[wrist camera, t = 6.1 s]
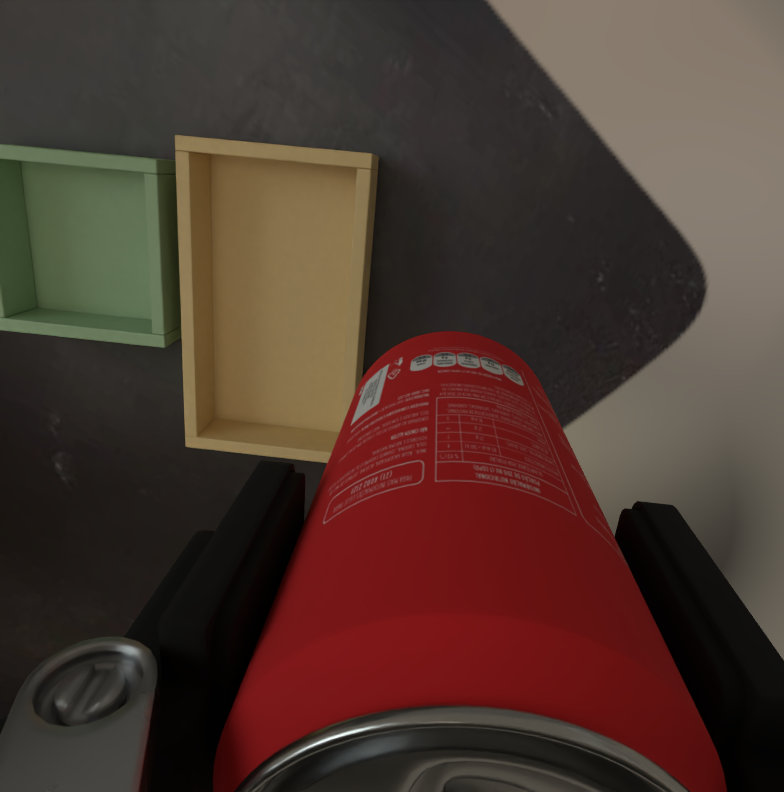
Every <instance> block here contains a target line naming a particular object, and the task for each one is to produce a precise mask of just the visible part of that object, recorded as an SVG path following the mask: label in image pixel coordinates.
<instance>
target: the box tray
mask: <svg viewBox="0 0 784 792" xmlns="http://www.w3.org/2000/svg"><path fill="white" fill-rule="evenodd" d="M175 150H177V151H175V158H176V187H177V216H178V244H179V273H180V302H181V330H182V359H183V387H184V416H185V442H186V447H192V448H201V449H210V450H218V451H227V452H236V453H245V454H253V455H262V456H271V457H280V458H289V459H297V460H306V461H315V462H324V463H328V461H329V458H330V456H331V453H332V450H333V448H334V445H335V443H336V440H337V438H338V435H339V433H340V430H341V428H342V425H343V422H344V420H345V417H346V415H347V412H348V410H349V407H350V405H351V402H352V399H353V397H354V395H355V392H356V390H357V387H358V385H359V383H360V382H361V380H362V373H363V360H364V347H365V334H366V321H367V308H368V295H369V282H370V269H371V256H372V242H373V229H374V216H375V203H376V190H377V177H378V164H379V156H376V155H374V154H371V153H361V152H351V151H340V150H330V149H319V148H309V147H298V146H288V145H277V144H267V143H256V142H245V141H235V140H224V139H214V138H203V137H193V136H182V135H175Z"/></svg>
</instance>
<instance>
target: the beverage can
mask: <svg viewBox="0 0 784 792" xmlns="http://www.w3.org/2000/svg"><path fill="white" fill-rule="evenodd" d="M213 792H727V787H726V782H725V777H724V772H723V768H722V765H721V762H720V759H719V756H718V753H717V751H716V748H715V746H714V744H713V742H712V740H711V737H710V735H709V733H708V731H707V729H706V727H705V725H704V722H703V720H702V718H701V716H700V714H699V712H698V710H697V708H696V706H695V704H694V702H693V700H692V697H691V695H690V693H689V691H688V689H687V687H686V685H685V683H684V681H683V679H682V677H681V675H680V673H679V670H678V668H677V666H676V664H675V662H674V660H673V658H672V656H671V654H670V652H669V650H668V648H667V645H666V643H665V641H664V639H663V637H662V635H661V633H660V631H659V629H658V627H657V625H656V623H655V621H654V618H653V616H652V614H651V612H650V610H649V608H648V606H647V604H646V602H645V600H644V598H643V596H642V594H641V591H640V589H639V587H638V585H637V583H636V581H635V579H634V577H633V575H632V573H631V571H630V569H629V566H628V564H627V562H626V560H625V558H624V556H623V554H622V552H621V550H620V548H619V546H618V544H617V542H616V539H615V537H614V535H613V533H612V531H611V529H610V527H609V525H608V523H607V521H606V519H605V517H604V515H603V512H602V510H601V508H600V506H599V504H598V502H597V500H596V498H595V496H594V494H593V492H592V490H591V488H590V485H589V483H588V481H587V479H586V477H585V475H584V473H583V471H582V469H581V467H580V465H579V463H578V460H577V459H576V456H575V454H574V452H573V450H572V448H571V446H570V444H569V442H568V440H567V438H566V435H565V433H564V431H563V429H562V427H561V425H560V423H559V421H558V419H557V417H556V415H555V413H554V411H553V408H552V406H551V404H550V402H549V400H548V398H547V396H546V394H545V392H544V390H543V388H542V386H541V384H540V382H539V380H538V379H537V377H536V375H535V374H534V373H533V371H532V370H531V369H530V367H529V366H528V365H527V364H526V363H525V362H524V361H523V360H522V359H521V358H520V357H519V356H518V355H516V354H515V353H514V352H512V351H511V350H510V349H508V348H507V347H505V346H503V345H502V344H500V343H498V342H496V341H493V340H491V339H489V338H486V337H483V336H480V335H476V334H471V333H466V332H456V331H445V332H434V333H429V334H424V335H420V336H417V337H414V338H411V339H409V340H406V341H404V342H402V343H400V344H398V345H397V346H395V347H393V348H392V349H390V350H389V351H387V352H386V353H385V354H383V355H382V356H381V357H380V358H379V359H378V360H377V361H376V362H375V363H374V364H373V365H372V366H371V367H370V368H369V370H368V371H367V372H366V374H365V375H364V377H363V378H362V380H361V382H360V383H359V385H358V387H357V390H356V392H355V395H354V397H353V399H352V402H351V405H350V407H349V410H348V412H347V415H346V417H345V420H344V422H343V425H342V428H341V430H340V433H339V435H338V438H337V440H336V443H335V445H334V448H333V450H332V453H331V456H330V458H329V461H328V463H327V466H326V468H325V471H324V473H323V476H322V479H321V481H320V484H319V486H318V489H317V491H316V494H315V496H314V499H313V501H312V504H311V507H310V509H309V512H308V514H307V517H306V519H305V522H304V524H303V527H302V530H301V532H300V535H299V537H298V540H297V542H296V545H295V547H294V550H293V552H292V555H291V558H290V560H289V563H288V565H287V568H286V570H285V573H284V575H283V578H282V581H281V583H280V586H279V588H278V591H277V593H276V596H275V598H274V601H273V603H272V606H271V609H270V611H269V614H268V616H267V619H266V621H265V624H264V626H263V629H262V632H261V634H260V637H259V639H258V642H257V644H256V647H255V649H254V652H253V654H252V657H251V660H250V662H249V665H248V667H247V670H246V672H245V675H244V677H243V680H242V683H241V685H240V688H239V690H238V693H237V695H236V698H235V700H234V703H233V705H232V708H231V711H230V713H229V716H228V718H227V721H226V723H225V726H224V729H223V731H222V734H221V737H220V741H219V744H218V747H217V751H216V757H215V762H214V771H213Z"/></svg>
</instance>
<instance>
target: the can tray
mask: <svg viewBox="0 0 784 792" xmlns="http://www.w3.org/2000/svg"><path fill="white" fill-rule="evenodd" d="M0 330H5V331H14V332H23V333H32V334H42V335H51V336H60V337H69V338H79V339H88V340H97V341H106V342H116V343H125V344H134V345H143V346H153V347H162V348H165V347H167V346H168V345H170V344H171V343H173V342H175V341H176V340H178V339H180V338H181V337H182V330H181V302H180V273H179V244H178V216H177V187H176V160H169V159H159V158H148V157H138V156H128V155H117V154H107V153H96V152H86V151H76V150H65V149H55V148H45V147H34V146H24V145H13V144H1V143H0Z"/></svg>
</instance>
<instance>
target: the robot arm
mask: <svg viewBox="0 0 784 792" xmlns="http://www.w3.org/2000/svg"><path fill="white" fill-rule="evenodd" d="M304 503H305V475H304V473H295V468H294V465H293V464H289V463H280V462H270V461H260V462H259V463H258V465H257V467H256V468H255V470H254V471H253V473H252V474H251V476H250V478H249V479H248V481H247V482H246V484H245V486H244V487H243V489H242V490H241V492H240V493H239V495H238V497H237V498H236V500H235V501H234V503H233V504H232V506H231V508H230V509H229V511H228V512H227V514H226V515H225V517H224V519H223V520H222V522H221V523H220V525H219V527H218V528H217V530H216V531H208V530H200V531H198V532H197V533H196V534H195V535H194V536H193V537H192V539H191V540H190V542H189V543H188V545H187V546H186V548H185V549H184V550H183V552H182V553H181V555H180V556H179V558H178V559H177V561H176V562H175V564H174V565H173V566H172V568H171V569H170V571H169V572H168V574H167V575H166V577H165V578H164V580H163V581H162V582H161V584H160V585H159V587H158V588H157V590H156V591H155V593H154V594H153V596H152V597H151V598H150V600H149V601H148V603H147V604H146V606H145V607H144V609H143V610H142V612H141V613H140V614H139V616H138V617H137V619H136V620H135V622H134V623H133V625H132V626H131V628H130V629H129V630H128V632H127V633H126V635H125V636H124V637H100V638H95V639H90V640H85V641H81V642H79V643H76V644H74V645H71V646H69V647H66V648H64V649H62V650H60V651H58V652H57V653H55V654H54V655H52V656H50V657H49V658H47V659H46V660H44V661H43V662H42V663H41V664H40V665H39V666H38V667H37V668H36V669H34V670H33V671H32V672H31V673H30V674H29V675H28V677H27V679H26V680H25V682H24V683H23V685H22V687H21V688H20V690H19V691H18V694H17V696H16V699H15V701H14V703H13V706H12V708H11V710H10V713H9V715H8V717H6V718H3V719H1V720H0V792H213V771H214V762H215V757H216V751H217V747H218V744H219V741H220V737H221V734H222V731H223V729H224V726H225V723H226V721H227V718H228V716H229V713H230V711H231V708H232V705H233V703H234V700H235V698H236V695H237V693H238V690H239V688H240V685H241V683H242V680H243V677H244V675H245V672H246V670H247V667H248V665H249V662H250V660H251V657H252V654H253V652H254V649H255V647H256V644H257V642H258V639H259V637H260V634H261V632H262V629H263V626H264V624H265V621H266V619H267V616H268V614H269V611H270V609H271V606H272V603H273V601H274V598H275V596H276V593H277V591H278V588H279V586H280V583H281V581H282V578H283V575H284V573H285V570H286V568H287V565H288V563H289V560H290V558H291V555H292V552H293V550H294V547H295V545H296V542H297V540H298V537H299V535H300V532H301V530H302V527H303V524H304ZM615 539H616V542H617V544H618V546H619V548H620V550H621V552H622V554H623V556H624V558H625V560H626V562H627V564H628V566H629V569H630V571H631V573H632V575H633V577H634V579H635V581H636V583H637V585H638V587H639V589H640V591H641V594H642V596H643V598H644V600H645V602H646V604H647V606H648V608H649V610H650V612H651V614H652V616H653V618H654V621H655V623H656V625H657V627H658V629H659V631H660V633H661V635H662V637H663V639H664V641H665V643H666V645H667V648H668V650H669V652H670V654H671V656H672V658H673V660H674V662H675V664H676V666H677V668H678V670H679V673H680V675H681V677H682V679H683V681H684V683H685V685H686V687H687V689H688V691H689V693H690V695H691V697H692V700H693V702H694V704H695V706H696V708H697V710H698V712H699V714H700V716H701V718H702V720H703V722H704V725H705V727H706V729H707V731H708V733H709V735H710V737H711V740H712V742H713V744H714V746H715V748H716V751H717V753H718V756H719V759H720V762H721V765H722V768H723V772H724V777H725V782H726V787H727V792H784V660H783V659H782V658H781V656H780V655H779V653H778V652H777V651H776V649H775V648H774V646H773V645H772V643H771V642H770V641H769V639H768V638H767V636H766V635H765V634H764V632H763V631H762V629H761V628H760V626H759V625H758V623H757V622H756V621H755V619H754V618H753V616H752V615H751V614H750V612H749V611H748V609H747V608H746V607H745V605H744V604H743V602H742V601H741V599H740V598H739V597H738V595H737V594H736V592H735V591H734V590H733V588H732V587H731V585H730V584H729V582H728V581H727V580H726V578H725V577H724V575H723V574H722V572H721V571H720V570H719V568H718V567H717V565H716V564H715V563H714V561H713V560H712V558H711V557H710V555H709V554H708V553H707V551H706V550H705V548H704V547H703V546H702V544H701V543H700V541H699V540H698V538H697V537H696V536H695V534H694V533H693V531H692V530H691V529H690V527H689V526H688V525H687V523H686V522H685V520H684V519H683V517H682V516H681V514H680V513H679V512H678V510H677V509H676V508H675V507H674V506H673V505H666V504H658V503H648V502H639V501H637V502H636V503H635V504H634V505H633V507H632V509H624V510H622V512H621V515H620V517H619V521H618V526H617V529H616V534H615Z"/></svg>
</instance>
